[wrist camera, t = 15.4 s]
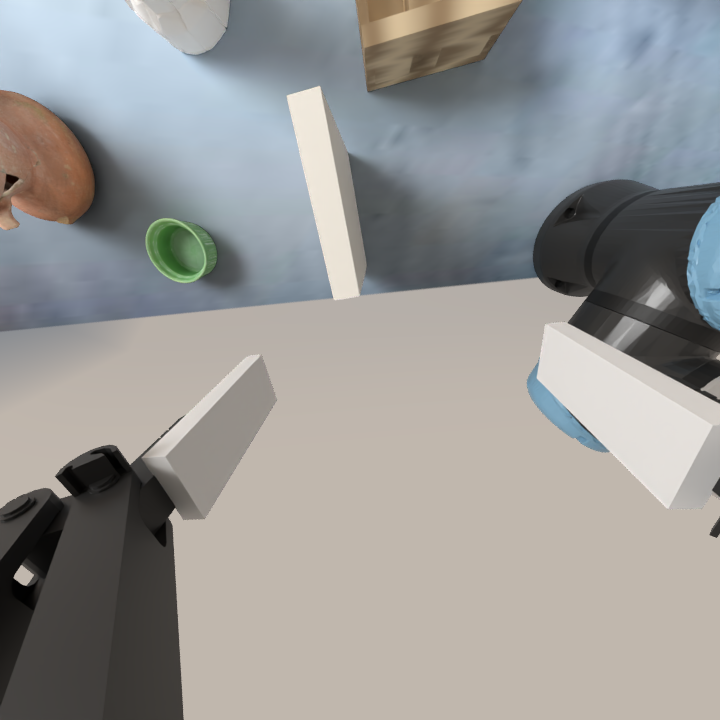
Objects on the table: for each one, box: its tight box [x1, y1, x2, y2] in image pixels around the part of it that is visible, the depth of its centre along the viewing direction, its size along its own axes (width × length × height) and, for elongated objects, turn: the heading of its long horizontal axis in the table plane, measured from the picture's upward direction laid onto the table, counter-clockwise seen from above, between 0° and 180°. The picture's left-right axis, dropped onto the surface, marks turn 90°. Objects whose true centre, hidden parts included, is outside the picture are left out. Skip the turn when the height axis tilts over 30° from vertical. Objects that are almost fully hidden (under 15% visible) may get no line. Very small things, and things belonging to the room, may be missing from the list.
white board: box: [287, 86, 367, 300], centre depth 31 cm, size 2×15×20 cm, turn 11°
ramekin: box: [145, 218, 217, 283], centre depth 42 cm, size 9×9×4 cm
